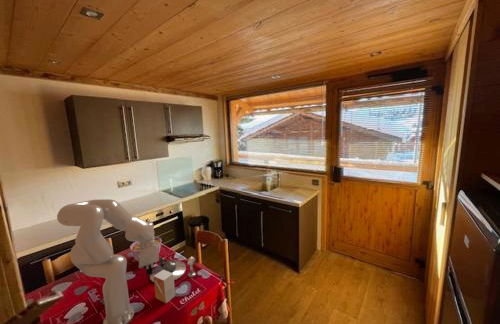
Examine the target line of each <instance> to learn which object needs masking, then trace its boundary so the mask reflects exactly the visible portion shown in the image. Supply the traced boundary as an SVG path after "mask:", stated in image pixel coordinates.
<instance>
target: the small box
mask: <svg viewBox="0 0 500 324" xmlns="http://www.w3.org/2000/svg"><path fill="white" fill-rule="evenodd" d="M153 284H154V293H155V299H157V300H158V301H161V302H162V303H164V304H167V303H168V302H170V301H171V300H172V299H173V298H174V297H175V296H176V287H175V281H174V277H173V273H171V272H169V271H166V270H162V271H160V272H159V273H157V274H156V275H154V282H153Z"/></svg>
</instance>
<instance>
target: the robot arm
mask: <svg viewBox="0 0 500 324" xmlns="http://www.w3.org/2000/svg"><path fill="white" fill-rule="evenodd" d="M56 219H57V222H58V224H61V225H62V226H66V227H79V229H78V232H77V234H76V237H75V244H74V245H73V246H72V248H71V250H70V254H69V259H70V260H71V263H72V264H73V265H74V266H75V267H76V268H78V269H79V270H80V271H81V272H82V273H83V274H84V275H86V276H88V277H91V278H93V277H95V278H103V279H105V281H104V283H103V285H102V294H103V302H104V309H105V315H106V316H105V318H104V319H103V322H102V324H129V323H130V321H131V320H132V319H133V317H134V316H135V309H134V308H133V306H131V305H130V298H129V297H130V296H129V288H128V281H127V264H128V261H127V258H126V257H125V256H123V255H122V254H116V253H115V254H114V249H113V248H112V247H113V246H112V245H111V244H110V243H109V242H108V241H107V239H106V238H105V237H104V235H103V234H102V232H101V227H102V223H103V221H104V220H105V221H106V222H107V223H109V224H110V225H111V226H112V227H113V228H115V229H116V230H119V231H123V232H125V235H124V237H125V239H126V240H127V241H128V242H136V241H140V244H138V247H139V254H138V261H137V262H138V269H145V274H146V275H148V276H149V277H150V275H152V272H153V271H152V270H153V268H154V265H156V263H158V262H159V261H160V255H159V254H158V249H157V245H156V244H155V241H154V237H155V230H154V223H153V221H150V220H149V221H146V220H144V219H142V218H140V217H137V216H135V215H132V214H131V213H129V212H128V211H127V210H126V209H125V208H124V206H122V205H121V204H120V203H119V202H118V201H117V200H114V199H111V198H110V199H109V198H108V199H107V198H106V199H101V198H100V199H90V200H85V201H81V202H75V203H70V204H67V205H64V206H62V207H61V208H60V209H59V210H58V212H57V216H56Z"/></svg>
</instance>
